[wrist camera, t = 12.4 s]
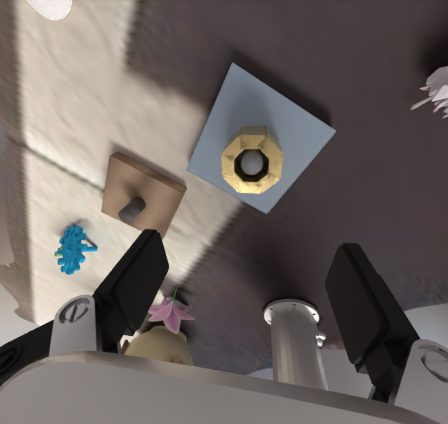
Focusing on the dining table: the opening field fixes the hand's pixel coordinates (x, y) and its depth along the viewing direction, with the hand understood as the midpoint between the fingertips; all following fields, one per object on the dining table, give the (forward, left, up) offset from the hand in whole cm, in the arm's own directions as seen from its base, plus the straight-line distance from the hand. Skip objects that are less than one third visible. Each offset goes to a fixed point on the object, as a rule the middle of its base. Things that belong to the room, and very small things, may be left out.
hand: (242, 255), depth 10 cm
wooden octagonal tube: (0, 0, -18) cm, 18 cm away
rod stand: (+12, +17, -20) cm, 29 cm away
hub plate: (0, 0, -20) cm, 20 cm away
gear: (+22, +36, -21) cm, 47 cm away
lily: (-3, +42, -21) cm, 46 cm away
